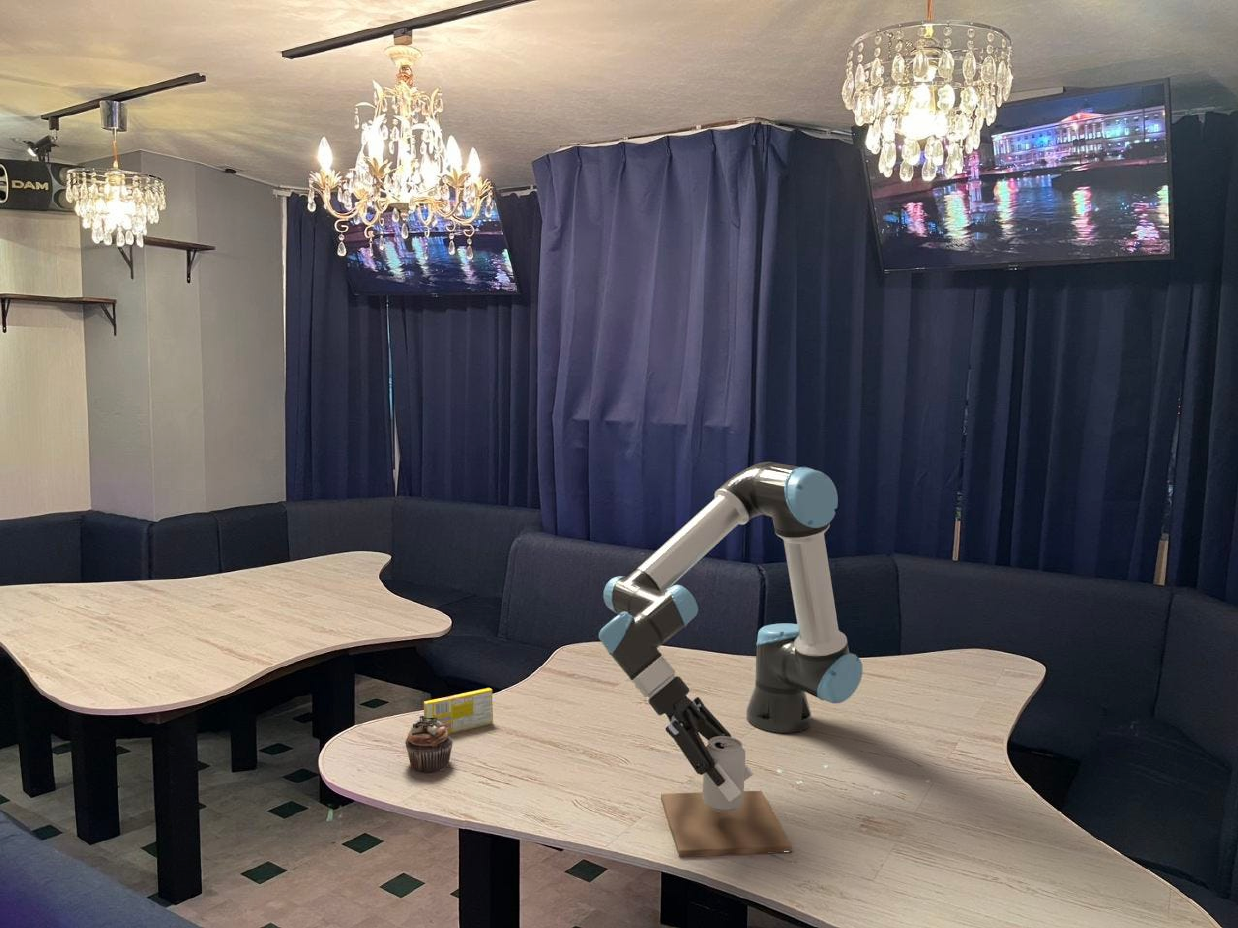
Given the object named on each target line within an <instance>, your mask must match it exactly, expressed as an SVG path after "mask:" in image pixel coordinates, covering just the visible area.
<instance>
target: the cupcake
mask: <svg viewBox="0 0 1238 928" xmlns="http://www.w3.org/2000/svg"><path fill="white" fill-rule="evenodd" d="M427 719H431V720H429V721H427ZM453 744H454V740H453V738H452V737H450V736H449V734H448V730H447V729H446V728H445V727H444V726H443V725H442V723H441V722H439V721H438V720H437V718H426V717H424V715H421V716H419V718H417V719H416V722H415V723H413V724H412V725H411V727H410V730H409V732H408V733H407V737H406V740H405V748H406V751H407V755H408V758H409V759H408V760H409V764H410V767H411V770H413V771H415V772H417V773H422V774H423V773H425V774H432V773H436V772H440V771H442V770H444V769H445V768H447V767H448V766H449V763H450V759H451V754H452V749H453Z"/></svg>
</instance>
